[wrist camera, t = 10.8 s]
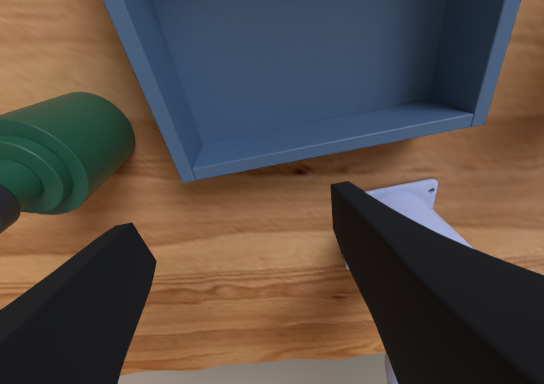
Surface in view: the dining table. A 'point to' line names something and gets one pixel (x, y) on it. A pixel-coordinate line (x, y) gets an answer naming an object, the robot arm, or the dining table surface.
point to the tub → (308, 74)
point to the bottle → (59, 154)
